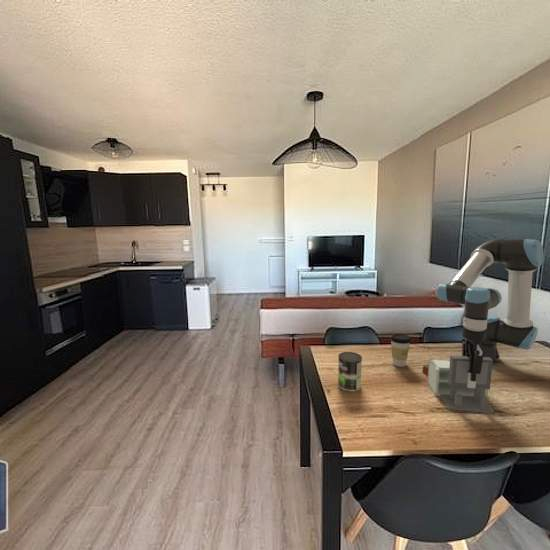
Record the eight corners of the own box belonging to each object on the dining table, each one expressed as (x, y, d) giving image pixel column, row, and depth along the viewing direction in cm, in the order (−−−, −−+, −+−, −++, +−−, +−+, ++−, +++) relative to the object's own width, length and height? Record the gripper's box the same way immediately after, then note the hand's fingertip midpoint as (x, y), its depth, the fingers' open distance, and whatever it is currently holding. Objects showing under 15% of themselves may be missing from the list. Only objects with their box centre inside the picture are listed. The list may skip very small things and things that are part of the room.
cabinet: (475, 386, 135) (478, 361, 133) (499, 413, 116) (503, 384, 114) (427, 383, 138) (429, 358, 136) (443, 409, 119) (445, 381, 117)
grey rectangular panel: (486, 386, 120) (489, 357, 118) (490, 389, 117) (493, 360, 115) (448, 383, 122) (450, 355, 120) (450, 387, 120) (453, 358, 118)
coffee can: (346, 393, 132) (347, 363, 129) (333, 382, 141) (333, 354, 139) (366, 388, 136) (367, 358, 133) (352, 378, 145) (352, 350, 143)
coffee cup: (412, 368, 153) (414, 340, 151) (393, 368, 153) (394, 340, 151) (405, 359, 163) (406, 332, 160) (386, 359, 163) (387, 333, 161)
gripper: (455, 321, 124) (450, 374, 128) (473, 335, 109) (467, 395, 113) (475, 321, 123) (470, 376, 127) (496, 336, 107) (490, 397, 111)
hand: (469, 385), depth 120 cm, fingers closed on grey rectangular panel, 3 cm apart
